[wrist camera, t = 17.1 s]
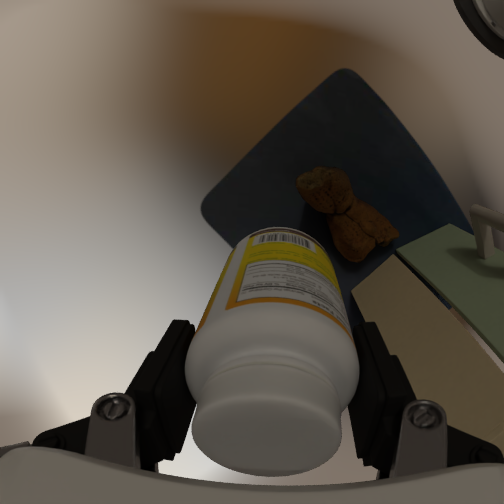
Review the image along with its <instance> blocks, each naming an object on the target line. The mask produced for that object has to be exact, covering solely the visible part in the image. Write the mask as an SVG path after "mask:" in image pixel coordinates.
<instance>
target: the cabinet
mask: <svg viewBox="0 0 504 504" xmlns="http://www.w3.org/2000/svg"><path fill="white" fill-rule="evenodd" d="M351 292H352V295H353V297H354V299H355V301H356V303H357V305H358V307H359V309H360V311H361V313H362V315H363V317H364V320H365V322H375V323H376V325H377V327H378V329H379V331H380V333H381V335H382V338H383V340H384V342H385V344H386V346H387V349H388V351H389V353H390V355H397V357H398V358H399V360H400V362H401V364H402V367H403V369H404V371H405V373H406V375H407V378H408V380H409V382H410V384H411V386H412V389H413V391H414V393H415V396H416V398H417V400H422V399H426V400H430V401H433V402H436V403H438V404H439V405H440V406H441V407H443V409H444V410H445V412H446V416H447V425H450V426H452V427H454V428H456V429H459V430H461V431H463V432H466V433H468V434H470V435H473V436H475V437H478V438H480V439H482V440H485V441H487V442H490V443H492V444H494V445H496V446H497V447H498V448H499V449H500V450H501V452H502V454H503V457H504V373H503V372H502V371H501V370H500V368H499V367H498V366H497V365H496V364H495V362H494V361H493V360H492V359H491V358H490V356H489V355H488V354H487V353H486V352H485V350H484V349H483V348H482V347H481V346H480V345H479V343H478V342H477V341H476V340H475V339H474V338H473V337H472V335H471V334H470V333H469V332H468V331H467V330H466V329H465V327H464V326H463V325H462V324H461V323H460V322H459V321H458V320H457V319H456V318H455V316H454V315H453V314H452V313H451V312H450V311H449V310H448V309H447V308H446V307H445V306H444V305H443V304H442V303H441V301H440V300H439V299H438V298H437V297H436V296H435V295H434V294H433V293H432V292H431V291H430V290H429V289H428V288H427V287H426V286H425V285H424V284H423V283H422V282H421V281H420V280H419V279H418V278H417V277H416V276H415V275H414V274H413V273H412V272H411V271H410V270H409V269H408V268H407V267H406V266H405V265H404V264H403V263H402V262H401V261H400V260H399V259H398V258H397V257H396V256H395V255H394V254H392V255H391V256H390V257H389V258H388V259H387V260H386V261H385V262H384V263H383V264H381V265H380V266H379V267H378V268H377V269H376V270H375V271H373V272H372V273H371V274H370V275H369V276H368V277H367V278H365V279H364V280H363V281H362V282H361V283H360V284H358V285H357V286H356V287H355V288H354V289H353V290H351Z"/></svg>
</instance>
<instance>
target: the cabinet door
mask: <svg viewBox="0 0 504 504" xmlns="http://www.w3.org/2000/svg"><path fill="white" fill-rule="evenodd" d="M470 217H471V221H472V226H473V230H474V235H475V236H473V235H471V234H469V233H467V232H465V231H463V230H462V229H460V228H458V227H456V226H454V225H451V224H448V225H446V226H444V227H441V228H439V229H437V230H435V231H433V232H431V233H429V234H427V235H425V236H423V237H421V238H419V239H417V240H415V241H412V242H410V243H408V244H406V245H404V246H402V247H400V248H398V249H396V251H397V254H399V255H400V256H401V257H402V258H403V259H404V260H405V261H406V262H407V263H408V264H409V265H410V266H411V267H412V268H413V269H415V270H416V271H417V272H418V273H419V274H420V275H421V276H422V277H423V278H424V279H425V280H426V281H427V282H428V283H429V284H430V285H431V286H432V287H433V288H434V289H435V290H436V291H437V292H438V293H439V294H440V295H441V296H442V297H443V298H444V299H445V300H446V301H447V302H448V303H449V304H450V305H451V306H452V307H453V308H454V309H455V310H456V311H457V312H458V313H459V314H460V315H461V316H462V317H463V318H464V320H465V321H466V322H467V323H468V324H469V325H470V326H471V327H472V328H473V329H474V330H475V331H476V332H477V334H478V335H479V336H480V337H481V338H482V339H483V340H484V341H485V343H486V344H487V345H488V346H489V347H490V348H491V349H492V350H493V352H494V353H495V354H496V355H497V356H498V357H499V359H500V360H501V361H502V362H503V363H504V252H503V251H501V250H499V249H497V248H495V247H494V243H493V237H492V231H491V227H493V228H495V229H497V230H500V231H502V232H504V214H502V213H499V212H496V211H494V210H491V209H488V208H485V207H482V206H480V205H477V204H475V205H473V206H472V207H471V208H470Z"/></svg>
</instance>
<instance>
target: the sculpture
mask: <svg viewBox="0 0 504 504" xmlns="http://www.w3.org/2000/svg"><path fill="white" fill-rule="evenodd" d="M296 187H297V189H298V191H299V193H300V194H301V196H302V198H303V199H304V200H305V201H306V202H307V203H308V204H309V205H311V206H312V207H313V208H314V209H315V210H317V211H319V212H323V213H326V220H327V223H328V226H329V229H330V232H331V235H332V239H333V242H334V245H335V247H336V249H337V250H338V251H339V252H340V253H341V254H342V255H343V257H344V258H346V259H348V260H349V261H353V262H358V263H360V262H361V261H362V260H363V259H364V258H365V257H366V255H367V254H368V253H369V252H370V251H371V250H372V249H373V248H374V247H376V245H375V243H376V244H378V245H380V246H383V247H384V246H387V245H388V244H389V242H391V241H392V240H393V239H396V238H398V237H399V232H398V231H397V229H396V228H394V227H393V226H392V225H391V224H390V222H389V221H388V220H387V218H385V217H384V216H383V215H381V214H380V213H378V211H377V210H376V209H375V208H374V207H372V206H371V205H369V204H367V203H366V202H364V201H362V200H360V199H358V198H356V197H355V195H354V194H353V190H352V187H351V184H350V181H349V178H348V176H347V174H346V173H345V172H344V171H343V170H342V169H339V168H336V167H325V166H318V167H316V168H314V169H313V170H312V171H308V172H306V173H303V174H301V175H300V176H298V177H297V178H296Z"/></svg>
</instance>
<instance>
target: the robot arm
mask: <svg viewBox="0 0 504 504" xmlns="http://www.w3.org/2000/svg"><path fill="white" fill-rule="evenodd" d="M472 1H473V4H474V6H475V8H476V10H477V12H478V14H479V15H480V17H481V18H482V20H483V21H484V22H485V24H486V25H487V26H488V27H489V28H490V29H491V30H492V31H493V32H494V33H495V34H496V35H497V36H498V37H500V38H501V39H503V40H504V0H472ZM194 334H195V327H194V325H193V324H190V322H189V321H188V320H173V321H172V322H171V324H170V326H169V327H168V329H167V331H166V332H165V334H164V336H163V337H162V339H161V341H160V342H159V344H158V346H157V348H156V349H155V351H151V352H150V353H149V354H148V355H147V357H146V358H145V360H144V362H143V363H142V365H141V367H140V368H139V370H138V372H137V373H136V375H135V377H134V378H133V380H132V382H131V384H130V385H129V387H128V388H127V390H126V392H125V393H124V394H123V393H109V394H106V395H104V396H102V397H100V398H99V399H97V400H96V401H95V403H94V404H93V407H92V410H91V416H89V417H86V418H84V419H81V420H78V421H75V422H72V423H69V424H66V425H63V426H60V427H57V428H54V429H50V430H47V431H45V432H42V433H41V434H39V435H38V436H37V437H36V438H35V439H34V441H33V443H32V444H30V443H29V442H28V441H27V442H23V443H18V444H14V445H9V446H5V447H0V504H504V457H503V454H502V452H501V450H500V449H499V448H498V447H497V446H496V445H494V444H492V443H490V442H487V441H485V440H482V439H480V438H478V437H475V436H473V435H470V434H468V433H466V432H463V431H461V430H459V429H456V428H454V427H452V426H450V425H447V416H446V412H445V410H444V409H443V407H441V406H440V405H439V404H438V403H436V402H433V401H430V400H426V399H422V400H417V398H416V396H415V393H414V391H413V389H412V386H411V384H410V382H409V380H408V378H407V375H406V373H405V371H404V369H403V367H402V364H401V362H400V360H399V358H398V357H397V355H390V353H389V351H388V349H387V346H386V344H385V342H384V340H383V338H382V335H381V333H380V331H379V329H378V327H377V325H376V323H375V322H360V323H359V325H358V326H354V328H353V334H352V336H353V340H354V343H355V347H356V351H357V355H358V361H359V382H358V386H357V389H356V392H355V394H354V396H353V398H352V400H351V401H350V403H349V404H348V410H349V415H350V420H351V425H352V431H353V437H354V442H355V448H356V453H357V458H358V459H359V458H362V459H363V465H364V466H373V467H374V468H376V469H378V473H377V477H376V480H373V481H365V482H355V483H344V484H330V485H306V486H271V485H269V486H268V485H249V484H234V483H223V482H214V481H205V480H198V479H190V478H184V477H178V476H172V475H166V474H161V473H159V470H158V462H160V461H162V460H163V459H165V460H171V461H173V460H174V456H175V454H176V453H180V452H181V450H182V447H183V444H184V441H185V438H186V435H187V431H188V428H189V425H190V422H191V419H192V416H193V413H194V410H195V407H196V404H197V403H196V401H195V400H194V398H193V397H192V395H191V393H190V390H189V388H188V385H187V382H186V377H185V361H186V356H187V353H188V349H189V346H190V344H191V341H192V339H193V337H194Z"/></svg>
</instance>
